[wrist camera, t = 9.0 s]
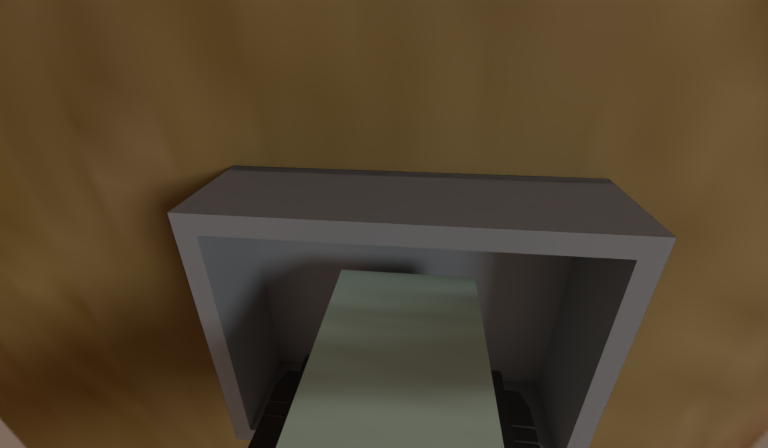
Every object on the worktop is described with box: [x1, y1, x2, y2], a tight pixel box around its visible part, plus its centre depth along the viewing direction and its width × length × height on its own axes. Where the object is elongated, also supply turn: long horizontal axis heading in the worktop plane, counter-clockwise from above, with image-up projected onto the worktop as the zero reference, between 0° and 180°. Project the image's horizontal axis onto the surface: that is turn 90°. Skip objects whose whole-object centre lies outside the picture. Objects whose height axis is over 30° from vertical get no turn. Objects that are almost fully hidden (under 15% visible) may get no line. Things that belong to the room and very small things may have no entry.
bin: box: [167, 166, 676, 448], centre depth 14 cm, size 10×13×4 cm
